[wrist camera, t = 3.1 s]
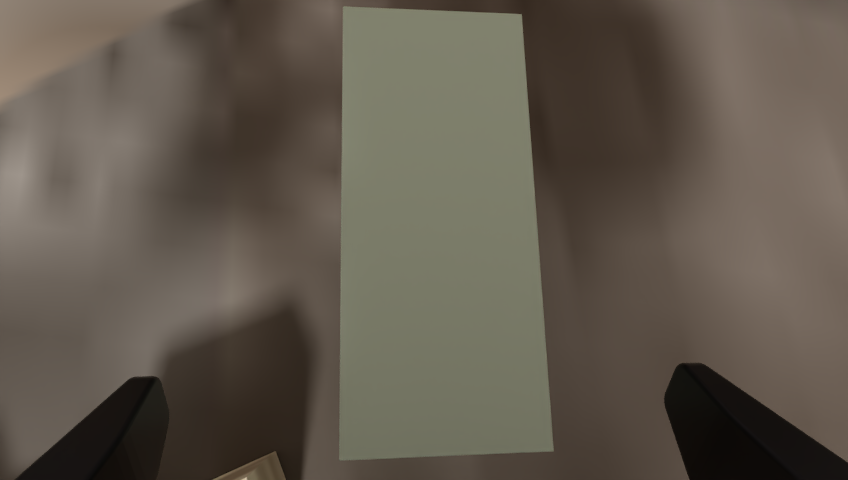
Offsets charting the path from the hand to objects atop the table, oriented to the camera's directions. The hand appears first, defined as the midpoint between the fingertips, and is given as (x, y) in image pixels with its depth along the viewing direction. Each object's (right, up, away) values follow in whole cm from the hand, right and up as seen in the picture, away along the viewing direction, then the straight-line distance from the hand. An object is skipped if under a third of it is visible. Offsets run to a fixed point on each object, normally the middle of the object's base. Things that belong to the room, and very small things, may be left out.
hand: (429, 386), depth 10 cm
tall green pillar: (-1, 0, +9) cm, 10 cm away
